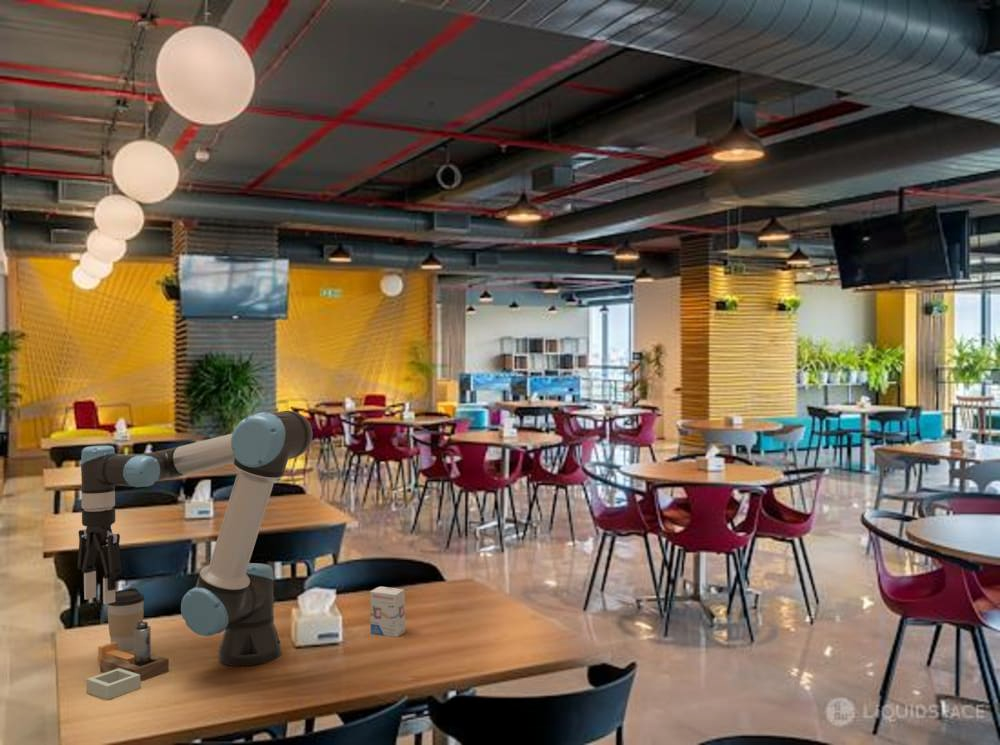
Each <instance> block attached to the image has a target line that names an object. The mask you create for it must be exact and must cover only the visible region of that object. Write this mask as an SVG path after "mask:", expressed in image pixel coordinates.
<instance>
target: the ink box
mask: <svg viewBox="0 0 1000 745" xmlns="http://www.w3.org/2000/svg"><path fill="white" fill-rule="evenodd" d="M369 596H370V601H369V603H370V604H369V606H370V608H369V609H370V611H369V612H370V634H373V635H380V636H387V637H393V638H398V637H399V636H401V635H402V634H404V633H406V604H405V603H406V601H405V600H406V598H405V597H406V595H405V590H404V589H401V588H395V587H390V586H389V587H387V586H378V587H375V588H373V589H372V590H370V591H369Z"/></svg>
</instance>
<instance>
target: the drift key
mask: <svg viewBox="0 0 1000 745" xmlns="http://www.w3.org/2000/svg"><path fill="white" fill-rule="evenodd" d="M97 648H98V649H97V652H98V653H97V654H98V655H97V658H98V662H97V663H98V666H100V660H101V659H104V658H107V657H110V656H112V657H115V658H119V659H122V660H125V661H129V662H130V664H134V665H135V659H134V655H132V654H129V653H125V652H122V651H118V643H117V642H113V643H111V642H109V643H107V644H103V645H100V646H98V647H97Z"/></svg>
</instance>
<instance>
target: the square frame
mask: <svg viewBox="0 0 1000 745" xmlns="http://www.w3.org/2000/svg"><path fill="white" fill-rule="evenodd" d="M85 681H86V682H85V683H86V693H88V694H90V695H93V696H95V697H98V698H101V699H103V700H106V701H107V700H112V699H115V698H116V697H119V696H123V695H125V694H127V693H130V692H133V691H135V690H138V689H141V681H140V674H136V673H133V672H130V671H127V670H124V669H120V668H118V669H115V670H112V671H109V672H106V673H101V674H98V675H95V676H92V677H89V678H86V680H85Z"/></svg>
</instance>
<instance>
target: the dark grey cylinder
mask: <svg viewBox="0 0 1000 745" xmlns="http://www.w3.org/2000/svg"><path fill="white" fill-rule="evenodd" d="M151 632H152V631H151V626H150V625H149V622H148V621H143V622H139V623H137V627H136V628H134V659H135V665H137V666H143V665H146V664H149V663H151V654H152V648H151V647H152V644H151V643H152V642H151V641H152V638H151V635H152V634H151Z"/></svg>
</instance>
